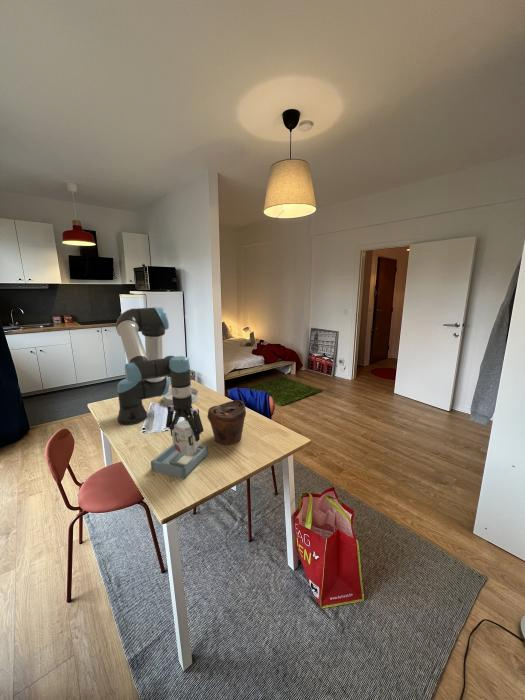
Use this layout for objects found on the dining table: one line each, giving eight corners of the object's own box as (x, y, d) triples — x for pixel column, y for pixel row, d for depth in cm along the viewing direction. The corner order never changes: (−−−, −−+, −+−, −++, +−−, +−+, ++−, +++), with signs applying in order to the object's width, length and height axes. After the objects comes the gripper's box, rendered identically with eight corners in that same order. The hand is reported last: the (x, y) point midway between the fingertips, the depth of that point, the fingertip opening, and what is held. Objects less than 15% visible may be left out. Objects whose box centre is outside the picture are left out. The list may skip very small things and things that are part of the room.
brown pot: (200, 445, 136) (198, 410, 132) (221, 426, 154) (220, 394, 150) (234, 453, 130) (233, 416, 126) (251, 432, 148) (252, 400, 144)
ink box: (175, 449, 122) (172, 424, 119) (185, 444, 126) (183, 419, 123) (187, 457, 116) (185, 430, 114) (197, 451, 120) (195, 426, 117)
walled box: (151, 470, 118) (150, 461, 117) (178, 447, 134) (177, 439, 133) (184, 479, 112) (183, 470, 112) (208, 454, 129) (207, 446, 128)
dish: (205, 396, 195) (204, 390, 194) (184, 409, 175) (183, 402, 174) (179, 392, 204) (178, 385, 203) (156, 404, 184) (155, 396, 183)
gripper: (153, 395, 116) (158, 445, 121) (200, 402, 108) (203, 455, 113) (165, 388, 123) (169, 436, 128) (210, 395, 115) (213, 445, 120)
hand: (185, 445), depth 120 cm, fingers closed on ink box, 9 cm apart
